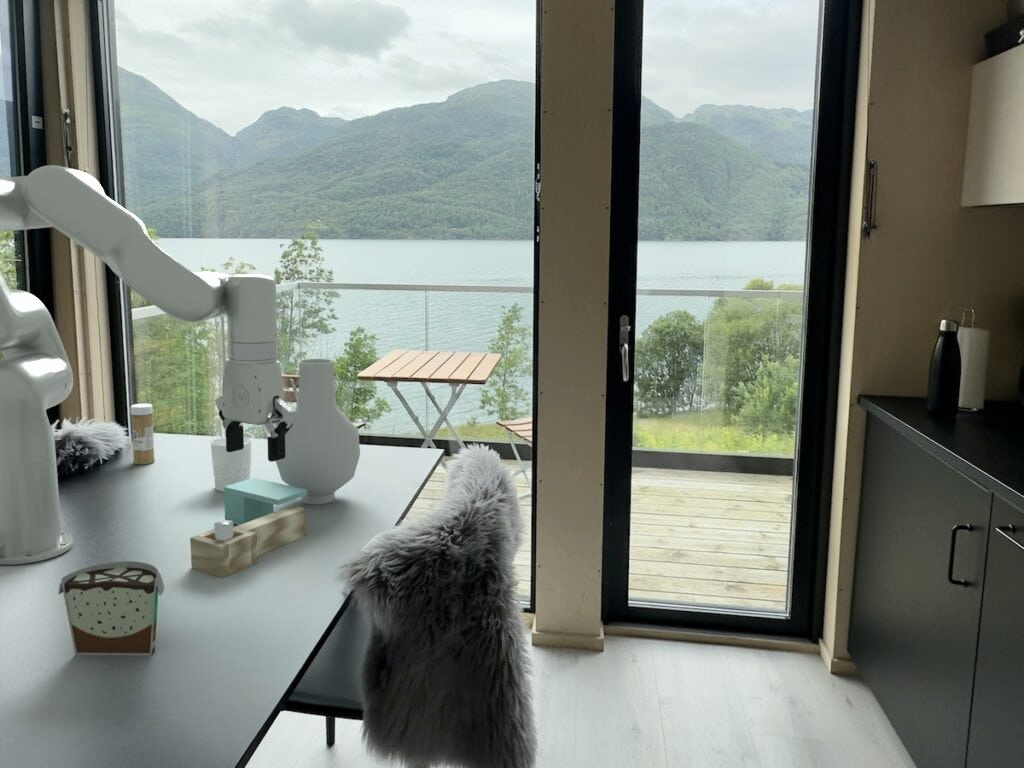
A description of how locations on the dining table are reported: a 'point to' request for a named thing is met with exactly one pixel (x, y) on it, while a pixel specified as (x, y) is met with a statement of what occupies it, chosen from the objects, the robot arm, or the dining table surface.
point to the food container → (113, 608)
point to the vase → (319, 437)
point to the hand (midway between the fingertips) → (255, 455)
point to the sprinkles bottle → (142, 433)
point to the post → (224, 530)
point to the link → (247, 542)
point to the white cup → (230, 463)
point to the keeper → (256, 499)
